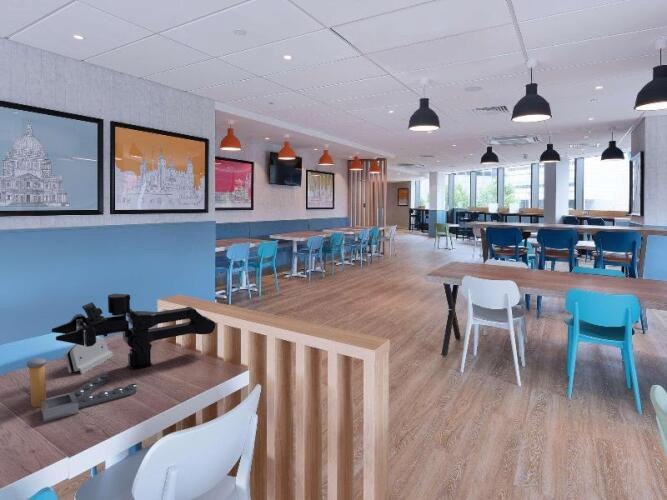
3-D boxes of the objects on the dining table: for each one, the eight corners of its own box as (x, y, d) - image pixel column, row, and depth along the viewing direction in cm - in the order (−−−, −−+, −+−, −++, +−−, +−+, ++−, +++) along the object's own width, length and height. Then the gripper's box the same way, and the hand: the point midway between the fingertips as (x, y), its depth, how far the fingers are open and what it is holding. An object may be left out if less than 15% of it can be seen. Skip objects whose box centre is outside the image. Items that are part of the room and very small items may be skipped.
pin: (43, 399, 122) (40, 357, 120) (52, 403, 119) (49, 360, 118) (25, 405, 118) (23, 362, 116) (34, 409, 115) (31, 365, 114)
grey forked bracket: (123, 374, 140) (123, 365, 140) (140, 395, 125) (140, 386, 125) (36, 394, 124) (35, 385, 124) (44, 422, 110) (43, 411, 109)
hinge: (81, 374, 139) (71, 346, 138) (70, 377, 140) (59, 350, 139) (114, 356, 155) (105, 331, 154) (104, 359, 156) (95, 334, 155)
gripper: (101, 297, 145) (48, 303, 135) (114, 308, 131) (56, 316, 121) (102, 327, 147) (50, 335, 136) (116, 342, 133) (58, 352, 122)
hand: (53, 334), depth 129 cm, fingers open, 9 cm apart
